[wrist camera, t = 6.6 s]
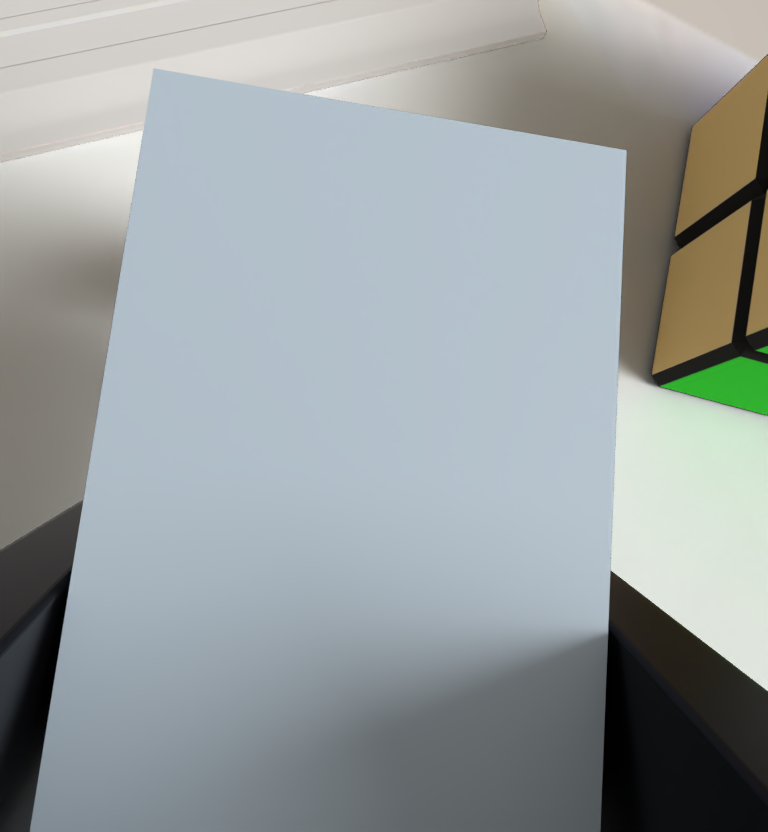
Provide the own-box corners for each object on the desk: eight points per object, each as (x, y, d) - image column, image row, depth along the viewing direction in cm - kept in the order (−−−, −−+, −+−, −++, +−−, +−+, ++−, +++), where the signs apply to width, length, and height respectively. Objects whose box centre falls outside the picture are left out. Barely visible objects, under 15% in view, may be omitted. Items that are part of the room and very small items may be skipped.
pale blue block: (393, 927, 15) (572, 1520, 6) (138, 920, 14) (-92, 1579, 5) (440, 351, 17) (626, 150, 8) (219, 322, 16) (153, 68, 7)
